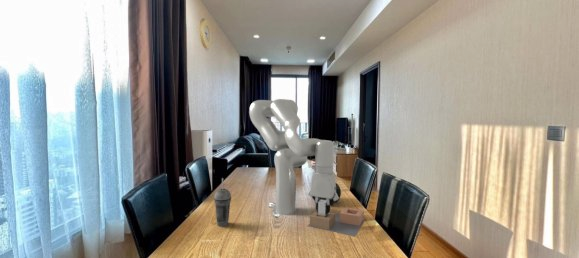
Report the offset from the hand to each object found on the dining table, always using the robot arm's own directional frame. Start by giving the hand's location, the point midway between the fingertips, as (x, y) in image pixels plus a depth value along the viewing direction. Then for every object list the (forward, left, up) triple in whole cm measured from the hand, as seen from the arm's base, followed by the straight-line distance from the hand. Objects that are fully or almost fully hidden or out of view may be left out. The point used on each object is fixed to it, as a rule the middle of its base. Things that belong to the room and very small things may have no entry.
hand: (322, 212), depth 114 cm
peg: (0, 0, -5) cm, 5 cm away
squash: (-9, +32, -7) cm, 34 cm away
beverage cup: (-39, -18, -7) cm, 44 cm away
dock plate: (+5, +5, -7) cm, 10 cm away
